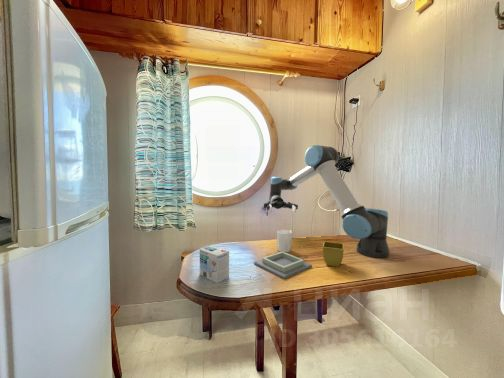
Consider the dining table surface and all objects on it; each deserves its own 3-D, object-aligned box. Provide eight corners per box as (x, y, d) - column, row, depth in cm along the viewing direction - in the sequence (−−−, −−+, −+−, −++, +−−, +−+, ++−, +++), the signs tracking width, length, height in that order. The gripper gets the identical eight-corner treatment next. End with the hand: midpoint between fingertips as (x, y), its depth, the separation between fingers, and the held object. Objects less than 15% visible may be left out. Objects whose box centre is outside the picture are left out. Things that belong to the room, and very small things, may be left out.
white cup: (291, 253, 116) (291, 234, 115) (275, 252, 117) (276, 233, 116) (291, 248, 123) (292, 230, 122) (277, 247, 125) (277, 229, 124)
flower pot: (321, 266, 100) (322, 246, 100) (323, 259, 108) (323, 240, 108) (342, 269, 97) (343, 249, 96) (342, 262, 105) (343, 243, 104)
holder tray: (311, 266, 99) (312, 260, 99) (284, 279, 88) (284, 271, 88) (281, 254, 113) (281, 249, 113) (254, 264, 102) (254, 257, 102)
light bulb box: (199, 275, 91) (198, 248, 90) (212, 269, 96) (211, 244, 95) (217, 283, 84) (216, 255, 83) (229, 277, 89) (229, 250, 88)
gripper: (295, 208, 148) (304, 216, 127) (257, 206, 147) (260, 215, 126) (296, 197, 147) (305, 203, 126) (258, 195, 146) (261, 201, 125)
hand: (283, 209), depth 126 cm, fingers open, 13 cm apart
